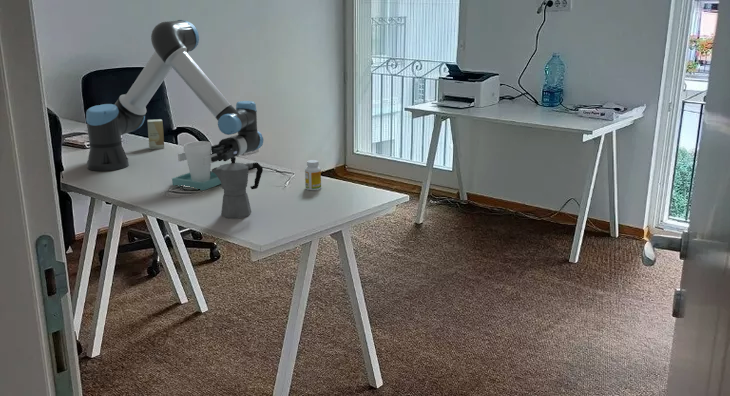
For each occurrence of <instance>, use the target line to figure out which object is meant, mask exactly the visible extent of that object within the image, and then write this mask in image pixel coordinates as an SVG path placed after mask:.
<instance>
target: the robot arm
mask: <svg viewBox="0 0 730 396" xmlns="http://www.w3.org/2000/svg"><path fill="white" fill-rule="evenodd" d="M150 41H151V45H152V47H153V48H154V52H153V54H152V55H151V57H150V58H149V60H148V61H147V62H146V64H145V66H144V67H143V69H142V70H141V72H140V73H139V74H138V76H137V77H136V79H135V81H134V83H132V85H131V87H130V88H129V89H128V91H127V93H125V94H121V95H119V97H118V99H117V100H116V102H115V103H114V104H112V103H104V104H103V103H102V104H100V105H99V104H98V105H97V104H96V105H94V106H91V107H89V108H88V109H86V111H85V117H86V118H85V122H86V126H87V135H88V140H89V141H88V143H89V151H88V152H89V153H88V157H87V158H88V159H87V161H86V165H87V169H88V170H90V171H94V172H106V171H116V170H121V169H124V168H127V167H128V166H129V158H128V157H127V154H126V152H125V150H124V147H123V142H122V136H123V135H125V134H129V133H131V132H133V133H134V132H135V131H137V130H138V129H140V128H141V127H142V126H143V125H144V122H145V120H146V113H147V112H148V111H147V108H146V107H147V105H148V104H149V102H150V101H151V99H152V98H153V96H154V95H155V94H156V92H157V90H158V89H159V88H160V86H161V84H163V82H164V80H165V79H166V78H167V76H168V75H169V73H170V72H171V70H172V69H173V70H174V71H175V72H176V73H177V74H178V76H179V77H180V78H181V79H182V81H184V82H185V84H186V85H187V87H188V88H189V89H190V90H191V91H192V92H193V93H194V94H195V96H197V98H198V99H199V100H200V101H201V102H202V104H203V105H204V106H205V107H206V108H207V109H208V111H209V112H210V113H211V114H212V116H214V118H215V119H216V120H217V127H218V130H219V131H220V132H221V133H222V134H224V135H228V137H226V138H222V139H220V141H219V142H218V144H214V145H211V148H212V149H211V155H209V156H206V157H203V165H208V164H211V165H212V164H213V163H217V162H222V161H223V162H228V161H229V160H231V159H230V158H231V157H236V158H238V157H240V156H242V155H243V154H247V153H250V152H255V151H256V150H259V149H261V147H263V145H264V137H263V134H262V133H261V132H260V131H259V130H258V121H257V120H258V119H257V118H258V117H257V113H258V111H257V103H255V101H254V100H253V101H252V100H243V101H242V100H240V101H237V102H236V105H235V108H234V106H233V105H232V104H231V103H230V101H229V100H228V99H227V98H226V97H225V95H224V94H223V93H222V92H221V91H220V90H219V88H218V87H217V86H216V85H215V84H214V83H213V81H212V80H211V79H210V78H209V77H208V76H207V74H206V73H205V72H204V71H203V70H202V68H201V67H200V66H199V65H198V63H196V61H195V60H194V59H193V58H192V57H191V55H190V54H189V52H192V51H193V50H195V49H196V48H197V46H199V43H200V35H199V31H198V29H197V28H196V26H195V25H194V24H193V23H192V22H190V21H188V20H184V19H183V20H182V19H177V20H170V21H161V22H160V23H158V24H156V25H155V26H154V28H153V29H152V31H151V35H150ZM236 133H237V134H236ZM234 134H236V135H234ZM230 135H232V136H230ZM177 157H178V158H177V160H178V162H182V161H183V162H184V161H187V159H186V155H185V152H184V151H183V152H180V153H177Z"/></svg>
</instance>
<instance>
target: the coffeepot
mask: <svg viewBox="0 0 730 396" xmlns="http://www.w3.org/2000/svg"><path fill="white" fill-rule="evenodd" d="M236 159H237V156H235V157H231V158H230V159H229V160H230V162H229V163H225V164H220V166H217V167H214V168H212V169H211V171H212V172H214V173H215V174H216V175H217V177H218V178H219V180H220V181H221V184H220V185H221V188H222V189H223V195H222V204H221V212H220V213H221V214H220V215H221V216H222V217H223V218H226V219H232V220H233V219H243V218H247V217H249V216H250V215H252V214H251V213H252V209H251V203H250V199H249V196H248V193H247V187H248V181H249V180H248V179H249V171H251V170H255V169H256V174H255V178H254V184H253V185H252V186H250V189H251V190H256V189H258V188H259V184H260V181H261V178H262V174H263V171H264V170H263V169H264V168H263V167H262V165H261V164H259V163H258V162H249V163H248V162H247V163H242V162H236Z"/></svg>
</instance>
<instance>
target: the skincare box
mask: <svg viewBox="0 0 730 396" xmlns="http://www.w3.org/2000/svg"><path fill="white" fill-rule="evenodd" d="M147 134H148V135H147V136H148V137H147V138H148V147H149V150H159V149H165V137H164V124H163V119H161V118H159V119H147Z"/></svg>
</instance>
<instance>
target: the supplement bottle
mask: <svg viewBox="0 0 730 396" xmlns="http://www.w3.org/2000/svg"><path fill="white" fill-rule="evenodd" d="M319 163H320V162H319V160H318V159H316V160H315V159H309V160H307V161H306V167H305V168H304V178H305V179H304V180H305V182H304V184H305V189H306V190H307V191H319V190H320V189H322V175H321V174H322V171H321V170H322V169H321V167H320V166H319V165H320V164H319Z"/></svg>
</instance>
